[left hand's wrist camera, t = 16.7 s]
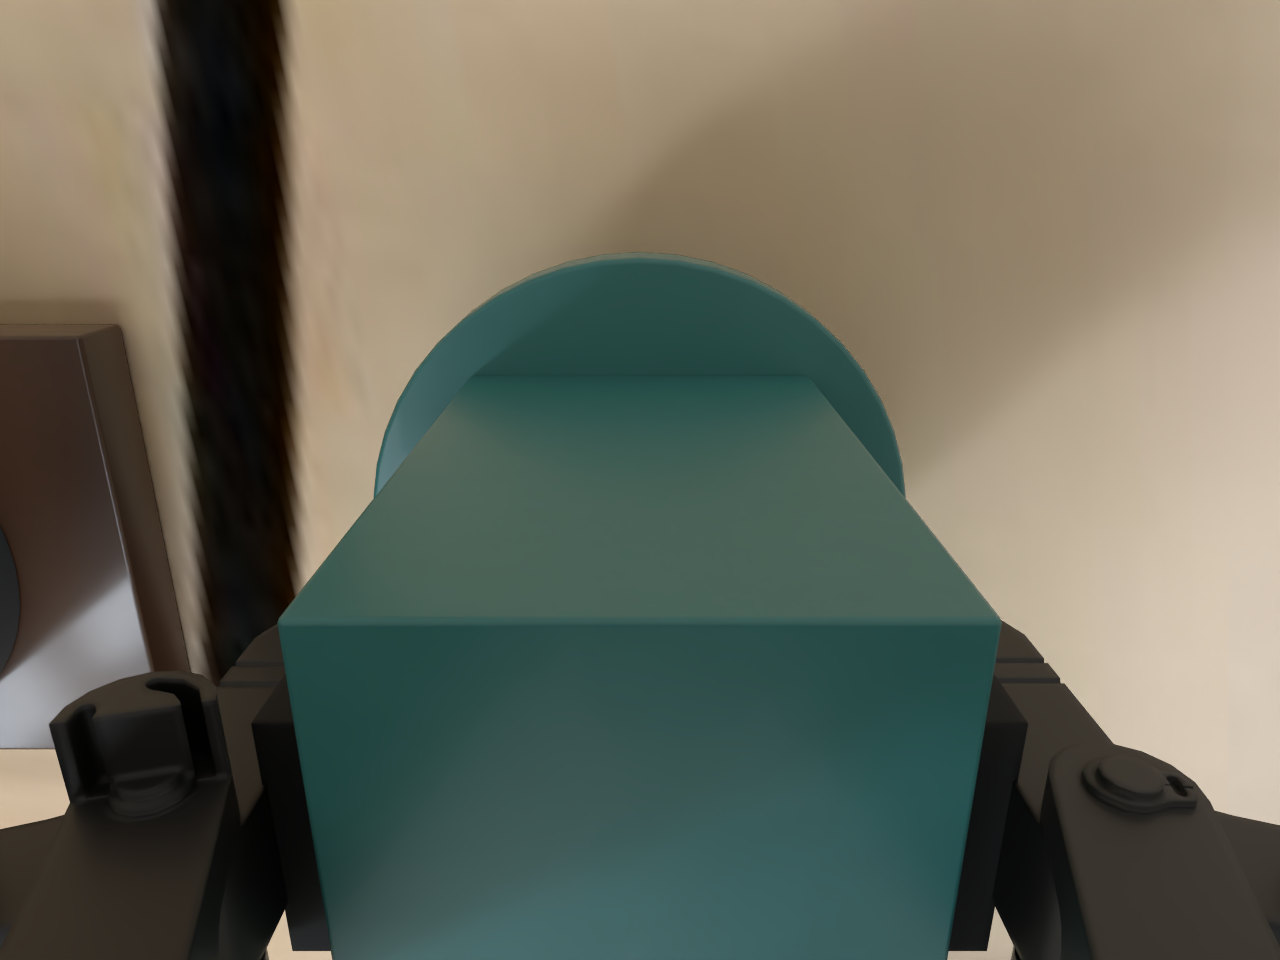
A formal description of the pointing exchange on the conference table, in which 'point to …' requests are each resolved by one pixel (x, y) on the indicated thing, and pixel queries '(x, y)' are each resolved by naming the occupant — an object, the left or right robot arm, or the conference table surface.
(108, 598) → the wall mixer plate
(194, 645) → the conference table surface
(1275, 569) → the conference table surface
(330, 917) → the cap block
